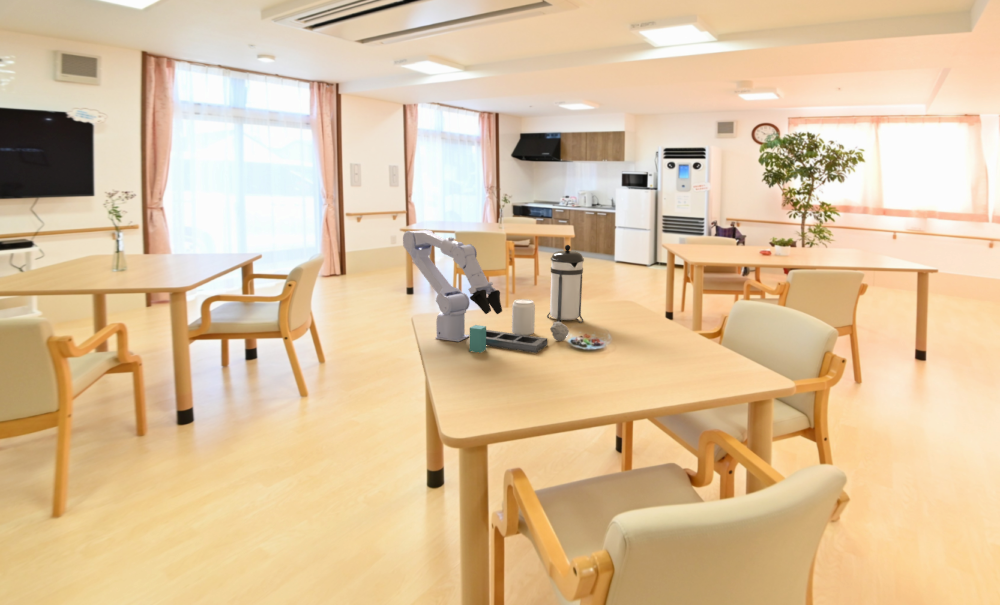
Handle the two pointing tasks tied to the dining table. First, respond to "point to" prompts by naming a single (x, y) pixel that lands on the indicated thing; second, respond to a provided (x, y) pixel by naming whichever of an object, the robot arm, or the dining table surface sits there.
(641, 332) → the dining table surface
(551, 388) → the dining table surface
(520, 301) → the beverage can
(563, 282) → the coffee press
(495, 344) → the rail
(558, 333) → the grey lumpy piece
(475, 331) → the square peg
